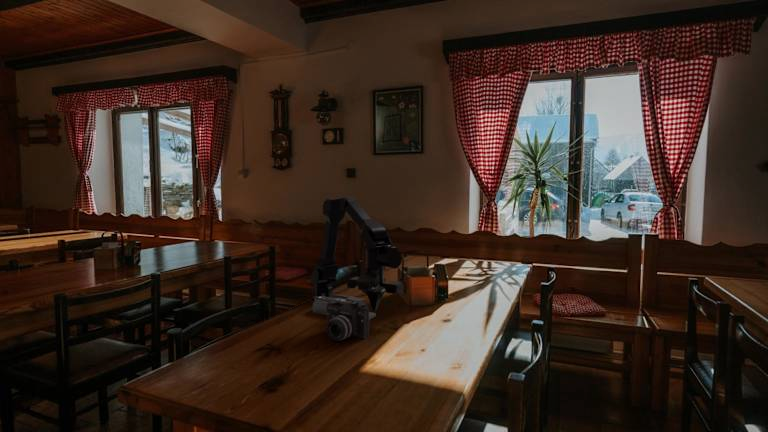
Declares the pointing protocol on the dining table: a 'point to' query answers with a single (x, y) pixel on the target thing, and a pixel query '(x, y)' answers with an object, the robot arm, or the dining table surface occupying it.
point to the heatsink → (325, 302)
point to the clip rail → (371, 315)
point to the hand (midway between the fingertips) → (374, 310)
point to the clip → (356, 300)
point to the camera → (347, 320)
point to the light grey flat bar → (333, 299)
